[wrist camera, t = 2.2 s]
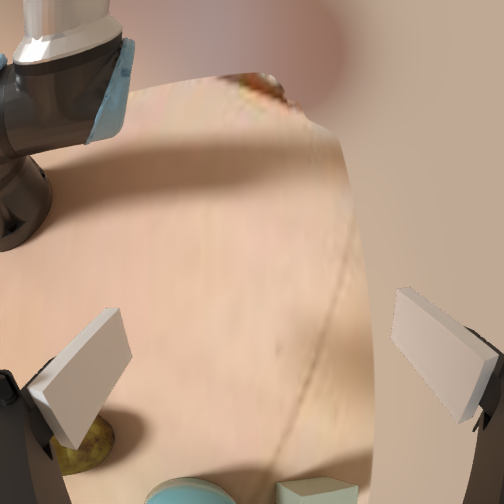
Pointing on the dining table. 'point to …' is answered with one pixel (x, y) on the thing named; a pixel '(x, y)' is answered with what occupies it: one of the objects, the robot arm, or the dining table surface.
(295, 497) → the sage box
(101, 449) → the potato
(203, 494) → the teal domed cylinder
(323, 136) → the dining table surface
